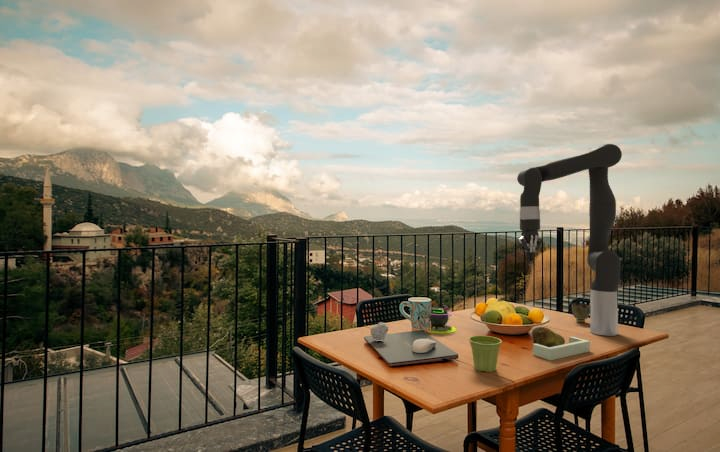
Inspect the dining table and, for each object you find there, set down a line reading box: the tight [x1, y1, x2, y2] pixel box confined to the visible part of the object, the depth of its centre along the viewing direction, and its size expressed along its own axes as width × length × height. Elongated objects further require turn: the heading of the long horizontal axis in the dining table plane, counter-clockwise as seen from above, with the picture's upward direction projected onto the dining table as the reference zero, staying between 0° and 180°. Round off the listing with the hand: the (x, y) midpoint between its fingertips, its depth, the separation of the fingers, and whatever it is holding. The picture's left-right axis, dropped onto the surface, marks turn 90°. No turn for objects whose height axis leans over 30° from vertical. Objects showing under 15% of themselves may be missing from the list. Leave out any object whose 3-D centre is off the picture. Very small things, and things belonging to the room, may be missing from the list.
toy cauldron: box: [427, 304, 457, 335], centre depth 168 cm, size 15×15×11 cm
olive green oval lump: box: [531, 326, 566, 347], centre depth 140 cm, size 8×13×8 cm, turn 97°
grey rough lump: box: [369, 321, 389, 340], centre depth 149 cm, size 6×7×7 cm
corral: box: [532, 336, 591, 361], centre depth 136 cm, size 20×6×4 cm, turn 118°
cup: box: [571, 302, 590, 324], centre depth 181 cm, size 8×7×8 cm
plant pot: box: [468, 335, 503, 373], centre depth 121 cm, size 9×9×9 cm
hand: (530, 261), depth 162 cm, fingers closed
